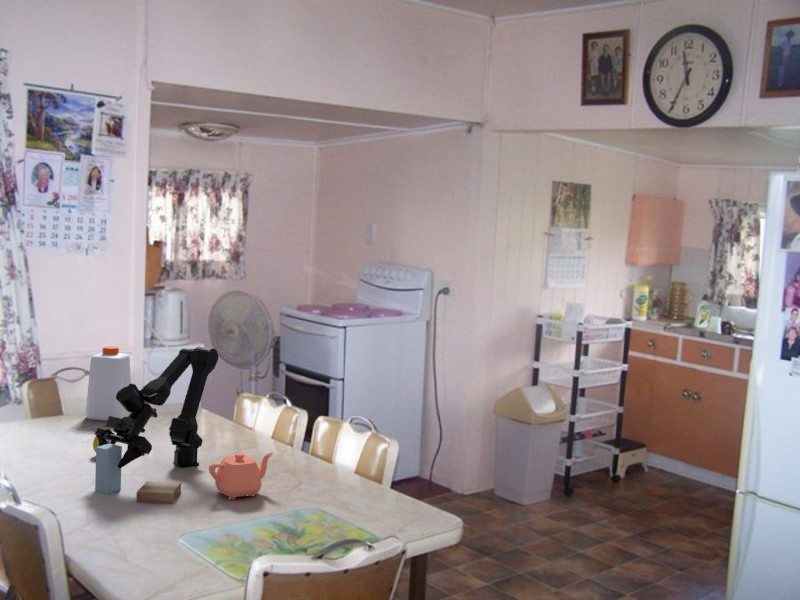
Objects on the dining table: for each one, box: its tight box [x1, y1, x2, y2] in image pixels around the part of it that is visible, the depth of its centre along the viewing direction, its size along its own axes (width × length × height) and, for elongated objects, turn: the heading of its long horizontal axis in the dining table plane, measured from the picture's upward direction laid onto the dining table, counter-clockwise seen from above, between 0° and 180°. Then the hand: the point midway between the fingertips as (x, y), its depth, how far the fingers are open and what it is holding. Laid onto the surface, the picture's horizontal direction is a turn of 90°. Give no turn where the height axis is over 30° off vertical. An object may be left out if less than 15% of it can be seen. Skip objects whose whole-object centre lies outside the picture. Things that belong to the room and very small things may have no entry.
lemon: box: [92, 436, 99, 453], centre depth 275 cm, size 6×6×8 cm
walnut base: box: [135, 480, 182, 505], centre depth 238 cm, size 10×10×3 cm
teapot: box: [208, 452, 274, 500], centre depth 244 cm, size 13×20×12 cm, turn 122°
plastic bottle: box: [85, 345, 132, 422], centre depth 327 cm, size 15×15×28 cm
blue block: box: [94, 444, 123, 495], centre depth 241 cm, size 5×5×13 cm
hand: (107, 464), depth 241 cm, fingers open, 9 cm apart
